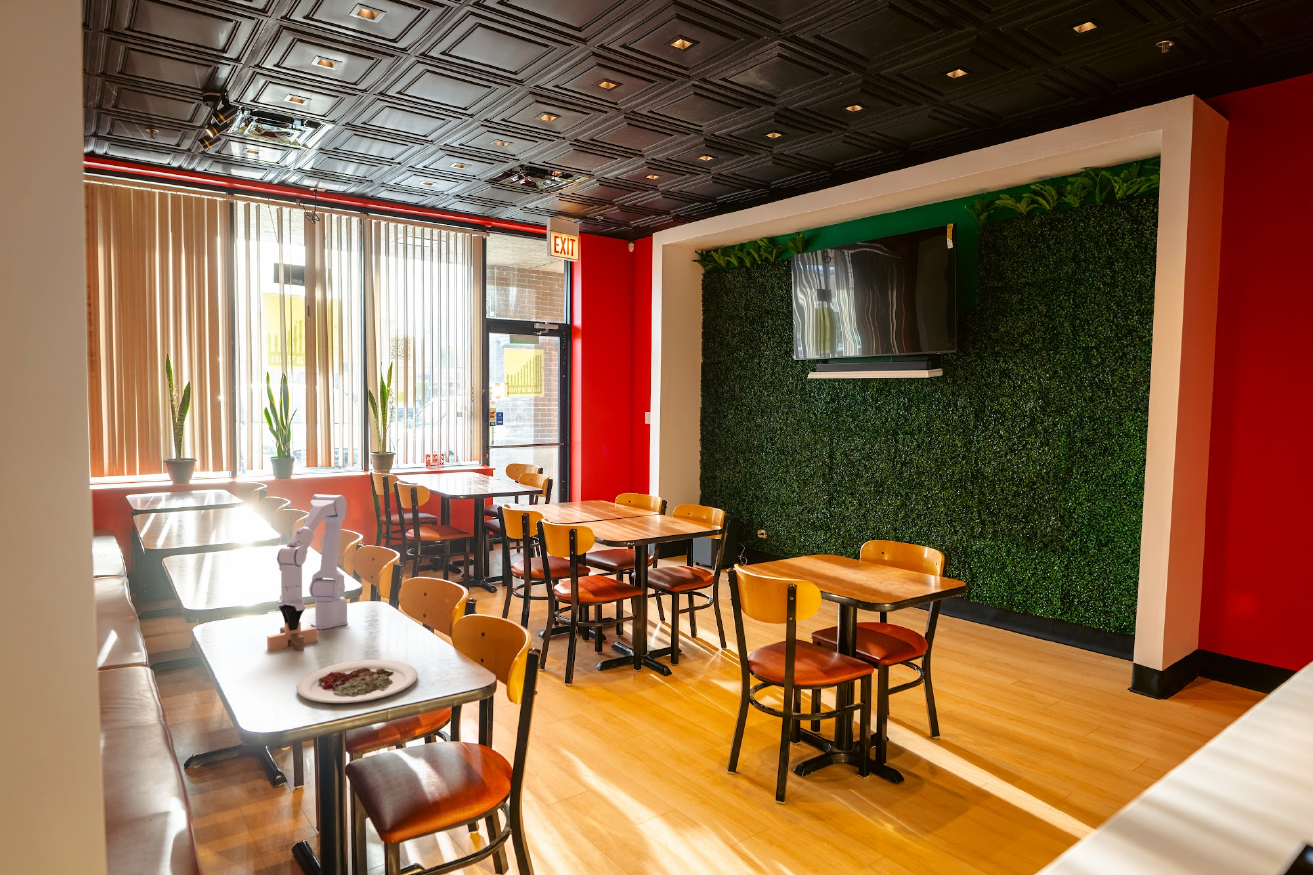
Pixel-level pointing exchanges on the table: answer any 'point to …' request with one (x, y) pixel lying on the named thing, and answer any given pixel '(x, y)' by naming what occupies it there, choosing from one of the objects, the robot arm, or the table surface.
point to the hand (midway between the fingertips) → (291, 628)
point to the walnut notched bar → (295, 640)
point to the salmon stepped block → (282, 639)
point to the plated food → (356, 681)
